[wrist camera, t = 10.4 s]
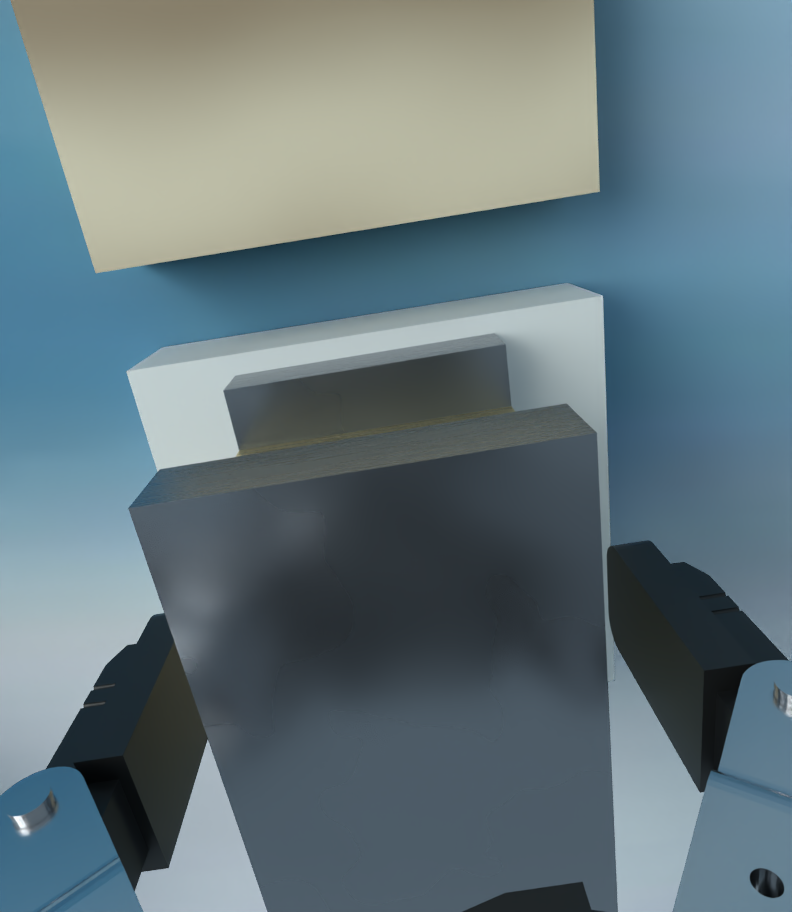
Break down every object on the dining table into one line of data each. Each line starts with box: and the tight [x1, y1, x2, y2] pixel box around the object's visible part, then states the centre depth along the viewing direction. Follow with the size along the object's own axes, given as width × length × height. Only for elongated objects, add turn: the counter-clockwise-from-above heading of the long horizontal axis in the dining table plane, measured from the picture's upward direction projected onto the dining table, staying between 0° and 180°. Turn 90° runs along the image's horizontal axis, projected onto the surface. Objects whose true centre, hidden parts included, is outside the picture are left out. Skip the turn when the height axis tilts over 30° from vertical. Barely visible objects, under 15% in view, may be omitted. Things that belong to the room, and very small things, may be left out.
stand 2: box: [126, 283, 615, 682], centre depth 16 cm, size 10×10×2 cm
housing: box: [128, 333, 618, 912], centre depth 12 cm, size 9×6×6 cm, turn 9°
